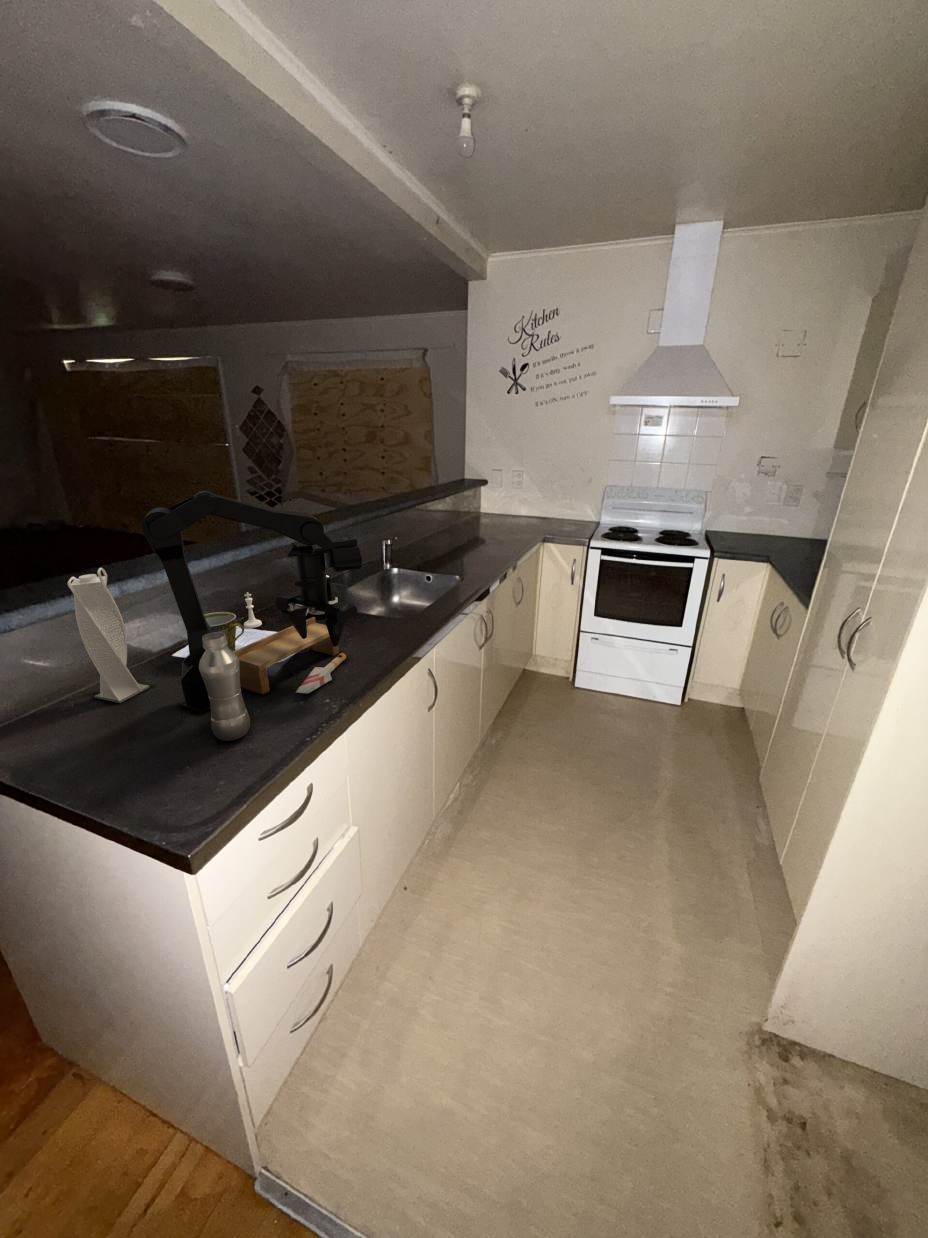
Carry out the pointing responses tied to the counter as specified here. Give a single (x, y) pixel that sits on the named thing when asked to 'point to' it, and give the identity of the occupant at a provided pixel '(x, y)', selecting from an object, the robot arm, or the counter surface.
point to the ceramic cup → (225, 626)
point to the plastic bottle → (223, 688)
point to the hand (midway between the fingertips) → (319, 642)
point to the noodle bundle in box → (320, 675)
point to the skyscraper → (104, 636)
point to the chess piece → (251, 614)
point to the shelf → (279, 653)
